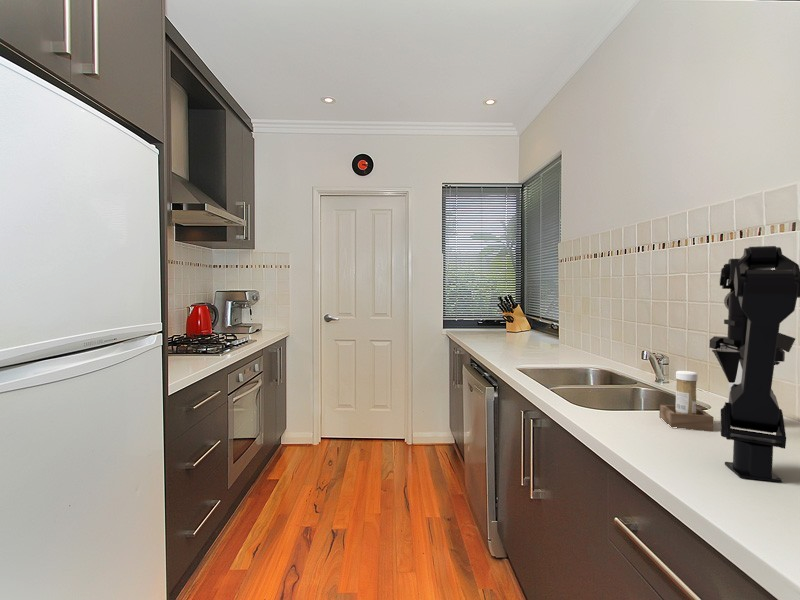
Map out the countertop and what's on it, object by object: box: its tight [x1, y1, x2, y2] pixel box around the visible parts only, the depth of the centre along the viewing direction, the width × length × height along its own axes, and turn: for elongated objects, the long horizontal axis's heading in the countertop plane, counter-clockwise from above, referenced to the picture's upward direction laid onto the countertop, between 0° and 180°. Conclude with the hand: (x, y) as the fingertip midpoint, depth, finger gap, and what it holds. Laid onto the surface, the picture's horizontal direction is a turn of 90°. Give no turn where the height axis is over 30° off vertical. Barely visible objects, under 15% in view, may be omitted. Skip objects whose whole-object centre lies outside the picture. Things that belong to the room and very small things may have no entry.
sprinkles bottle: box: [675, 370, 698, 415], centre depth 109 cm, size 5×5×14 cm
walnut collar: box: [659, 404, 714, 432], centre depth 110 cm, size 9×9×4 cm
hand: (741, 387), depth 94 cm, fingers open, 9 cm apart
